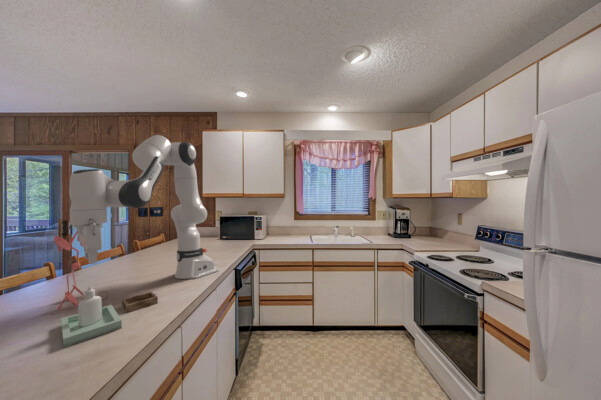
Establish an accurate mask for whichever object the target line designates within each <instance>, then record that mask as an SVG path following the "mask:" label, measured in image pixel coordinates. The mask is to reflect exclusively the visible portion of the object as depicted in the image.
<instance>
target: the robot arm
mask: <svg viewBox="0 0 601 400" xmlns="http://www.w3.org/2000/svg"><path fill="white" fill-rule="evenodd" d="M197 155H198V153H197V150H196V148H195V146H194V145H193V144H192V143H191V142H184V141H182V142H178V141H177V142H171V141H170V140H169V139H168V138H167V137H165V136H163V135H159V134H157V135H155V134H154V135H152V136H150V137H148V138H146V139H145V140H143V142H141V143H140V144H139V145H138V146H137V147H135V149H134V150H133V152H132V154H131V156H132V157H131V159H132V162H133V164H135V166H137V168H138V169H139V170H141V171H142V172H141V173H140V175H139V177H137V178H134V179H129V180H115V179H112V178H111V177H110V176H108V175H107V174H105V173H104V171H103V170H102V169H99V168H98V169H97V168H95V169H94V168H92V169H78V170H74V171H73V172H72V173H71V175H70V178H69V183H68V184H69V185H68V191H69V193H68V195H69V199H70V202H71V205H70V208H69V217H70V218H69V222H70V223H69V225H70V226H75V230H76V231H77V233H78V234H77V236H78V238H79V241H78V242H79V245H80V244H81V245H82V246H81V245H80V246H81V247H83V251H84V258H85V260H88V264H89V265H95V264H97V261H98V254H99V253H98V251H100V250H103V235H102V234H103V233H102V229H103V224H107V223H108V208H131V209H140V208H143V207H145V206H147V205H148V204H149V202H150V201H151V198H152V196H153V191H154V190H155V187H156V185H157V183H158V182H159V179H160V178H161V176H162V174H163V172H164V169H165V166H173V167H174V170H173V175H174V176H173V177H174V189H175V190H174V191H175V194H176V196H177V198H178V200H179V203H180V204H179V205H176V206H174V207H173V208H171V211H170V218H171V219H172V221H173V223H174V227H175V231H176V236H177V250H176V261H177V264H176V270H175V275H174V278H176V279H181V280H182V279H183V280H185V279H186V280H187V279H188V280H189V279H199V278H202V277H205V276H208V275H211V274H214V273H217V272H219V271H220V270H219V269H220V268H219V267H218V266H215V262H214V259H212V258H211V257H210V256H208V255H206V254H204V253H207V249H206V248H202V247H201V234H200V232H199V230H198V228H197V225H199V224H202V223H204V222H205V221H206V219H207V218H208V210H207V209H206V207H205V206H204V205H203V202H202V200H201V197H200V194H199V188H198V175H197V169H196V165H195V161H196V160H197Z"/></svg>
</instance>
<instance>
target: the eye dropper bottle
mask: <svg viewBox="0 0 601 400" xmlns="http://www.w3.org/2000/svg"><path fill="white" fill-rule="evenodd" d="M84 297H85V298H83V299H82V300H80V301H79V302H78V307H77V311H78V312H77V314H78V325H79V326H81V327H84V326H88V325H91V324H93V323H96V322H98V321H99V320H101V319H102V307H103V306H102V302H103V300H102V297H101V296H99V295H96V289H93V287H92V285H90V286H88V288H87V290H85V291H84Z"/></svg>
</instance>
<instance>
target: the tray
mask: <svg viewBox="0 0 601 400" xmlns="http://www.w3.org/2000/svg"><path fill="white" fill-rule="evenodd" d="M122 327H123V326H122V318H121V317H120V315H119V314H118V312H117V311H116V309H115V308H114V307H113V305H112V304H109V305H105V306H102V319H101V320H99V321H98V322H96V323H93V324H91V325H88V326H84V327H81V326H79V325H78V313H76V314H72V315H69V316H65V317H61V318H60V329H61V337H62V347H63V349H64V348H67V347H70V346H73V345H75V344H78V343H81V342H85V341H87V340H91V339H94V338H96V337H99V336H103V335H105V334H108V333H111V332H114V331H116V330H120V329H122Z"/></svg>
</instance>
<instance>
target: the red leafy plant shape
mask: <svg viewBox="0 0 601 400" xmlns="http://www.w3.org/2000/svg"><path fill="white" fill-rule="evenodd" d="M76 237H77V238H76ZM75 239H77V242H79V238H78V233H77V230H76V232H75V233H74V235H73V236H72V237H71V238H70V240H69V241H68V240H67V239H65V238H63V237H61V236H58V235H55V236H54V242H55V244H56V246H57V251H58V252H59V253H61V252H62V250H64V251H68V252H71V250H74V251H76V262H74V263H72V264H71V269H72V270H71V272H70V273H69V274H67V275H66V284H67V285H66V286H67V291H65V292H64V296H65V297H64V298H63V299H62V301H61V302H60V304H59V306H58V307H57V310H60V308H61V307H62V306H63V304H64V303H65V301H68V302H70V303H71V304H72V305H74V306H76V307H77V308H78V304H79V302H78V299H77V298H76V297H75V295H73V292H74V290H76V291H77V292H78V293H79V294H80V295H81V296H84V297H85V293H83V291H82V290H80V289H79V288H78V287H77V283H76V278H75V273H74V271H75V270H78V269H79V268H81V263H79V257H80V256H79V255H80V250H79V249H77V248H75V247H73V246H72V245H73V242H74V241H75ZM79 245H80V247H83V246H82V245H81V244H80V243H79ZM71 274H72V278H73V283H74V284H73V285H72V289H71V290H70V287H69V276H70V275H71ZM100 292H101V293H102V292H103V293H104V291H101V290H100ZM106 294H107V295H109V294H108V292H106ZM107 297H108V296H106V297H105V299H106V298H107ZM53 315H56V314H53V313H52V314H51V316H53Z"/></svg>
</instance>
